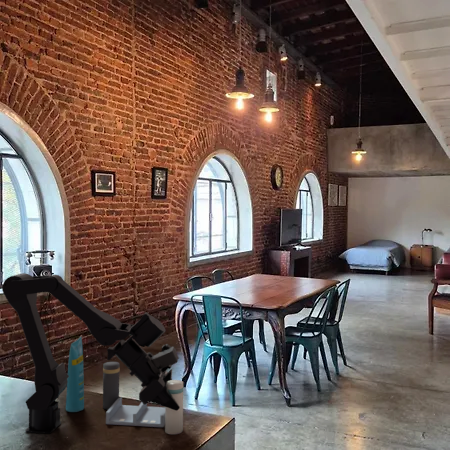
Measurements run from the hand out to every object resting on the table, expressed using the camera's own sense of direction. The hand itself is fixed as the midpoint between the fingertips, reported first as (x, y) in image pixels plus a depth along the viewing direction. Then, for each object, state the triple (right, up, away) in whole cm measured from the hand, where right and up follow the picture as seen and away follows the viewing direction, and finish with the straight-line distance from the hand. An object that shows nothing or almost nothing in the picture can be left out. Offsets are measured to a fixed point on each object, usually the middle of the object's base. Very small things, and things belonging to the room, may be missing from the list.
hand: (179, 404), depth 124 cm
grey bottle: (-21, -6, +15) cm, 26 cm away
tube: (-30, -6, +13) cm, 33 cm away
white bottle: (-1, -7, 0) cm, 7 cm away
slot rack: (-11, -6, +8) cm, 15 cm away
